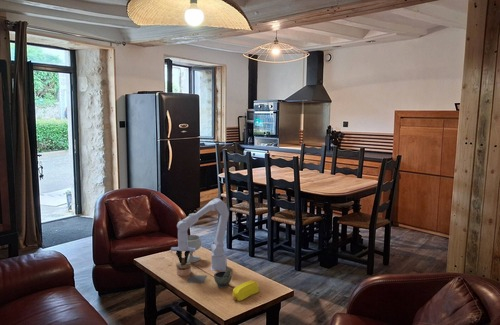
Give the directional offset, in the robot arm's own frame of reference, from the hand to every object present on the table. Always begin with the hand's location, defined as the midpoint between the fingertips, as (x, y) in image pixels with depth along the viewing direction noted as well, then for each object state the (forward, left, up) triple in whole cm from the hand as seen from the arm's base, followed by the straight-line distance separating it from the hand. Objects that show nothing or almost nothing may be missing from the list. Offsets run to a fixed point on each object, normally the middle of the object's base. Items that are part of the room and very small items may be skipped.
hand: (183, 262), depth 228 cm
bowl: (0, 0, -7) cm, 7 cm away
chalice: (+1, -22, -7) cm, 23 cm away
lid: (0, 0, -2) cm, 2 cm away
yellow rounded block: (-40, +24, -7) cm, 48 cm away
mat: (-10, +8, -7) cm, 15 cm away
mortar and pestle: (-27, +15, -7) cm, 32 cm away
